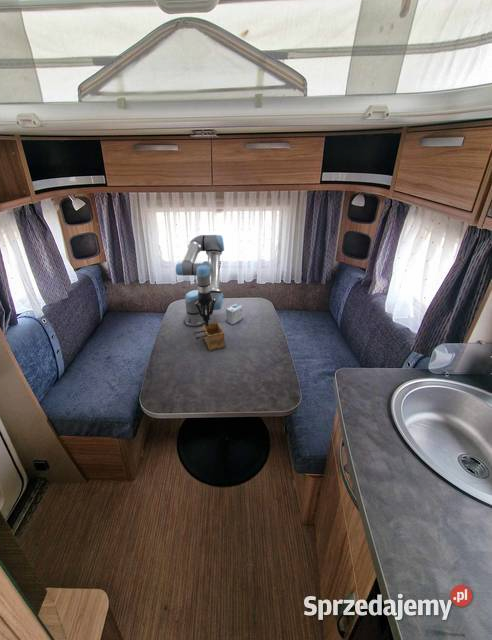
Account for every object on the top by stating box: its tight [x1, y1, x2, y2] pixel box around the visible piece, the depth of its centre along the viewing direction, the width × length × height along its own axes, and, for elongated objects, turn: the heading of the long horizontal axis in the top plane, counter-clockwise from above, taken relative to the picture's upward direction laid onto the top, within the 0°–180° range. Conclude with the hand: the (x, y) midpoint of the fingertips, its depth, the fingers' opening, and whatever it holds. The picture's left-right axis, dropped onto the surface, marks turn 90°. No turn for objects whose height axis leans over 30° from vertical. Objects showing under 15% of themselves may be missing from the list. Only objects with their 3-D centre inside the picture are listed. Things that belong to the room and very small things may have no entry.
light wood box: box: [193, 321, 226, 351], centre depth 181 cm, size 11×13×17 cm
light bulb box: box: [225, 303, 243, 325], centre depth 206 cm, size 11×7×11 cm, turn 134°
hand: (206, 324), depth 177 cm, fingers closed
